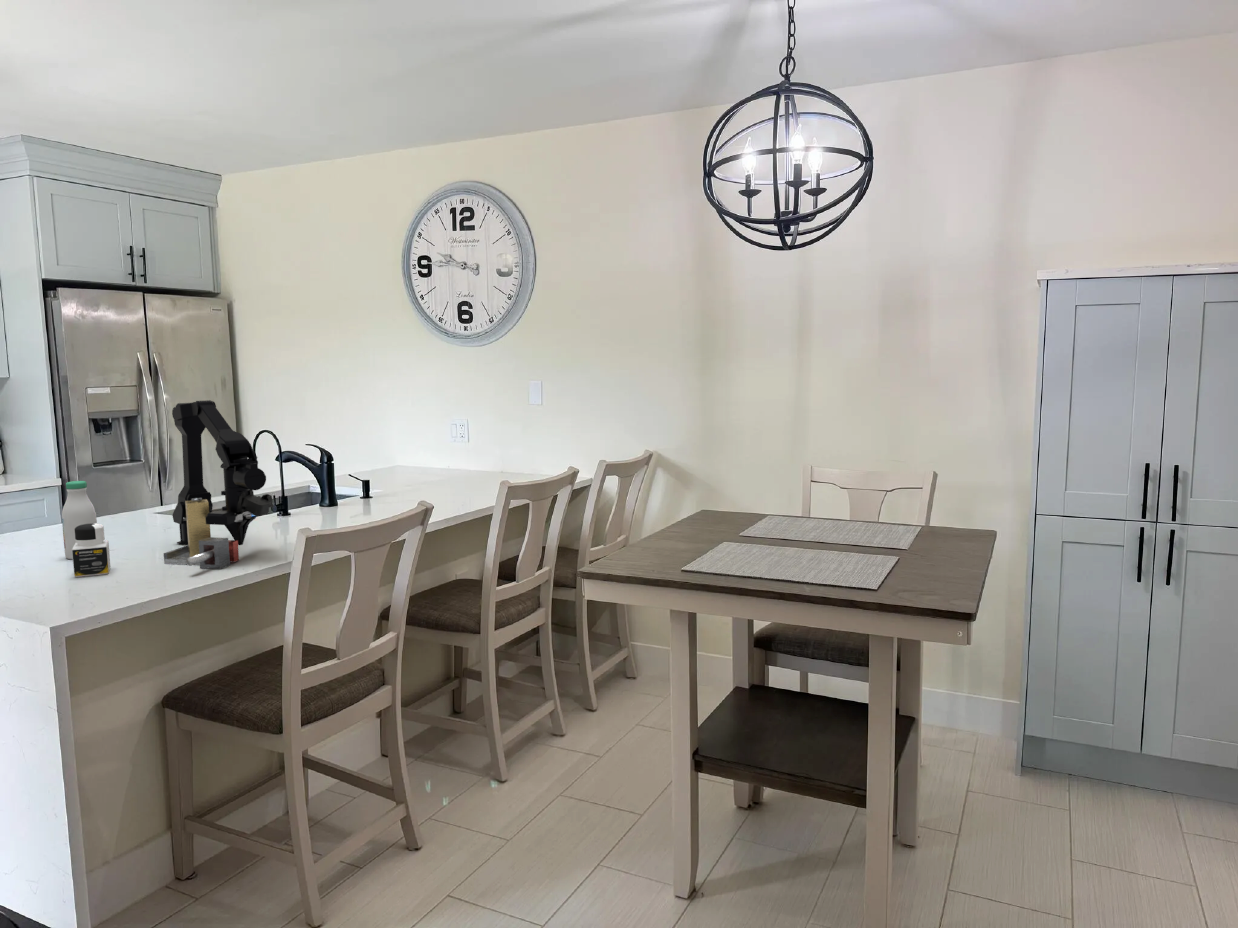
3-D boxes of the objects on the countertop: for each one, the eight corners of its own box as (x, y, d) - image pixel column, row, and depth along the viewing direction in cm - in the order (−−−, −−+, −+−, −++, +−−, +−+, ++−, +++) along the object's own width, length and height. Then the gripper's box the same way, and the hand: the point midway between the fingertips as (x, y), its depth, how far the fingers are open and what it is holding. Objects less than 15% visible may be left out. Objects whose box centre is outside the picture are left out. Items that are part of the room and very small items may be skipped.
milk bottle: (106, 554, 228) (100, 480, 225) (80, 560, 221) (73, 484, 218) (85, 552, 230) (78, 479, 228) (58, 558, 223) (51, 483, 220)
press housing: (200, 568, 213) (198, 540, 212) (210, 564, 216) (208, 537, 216) (220, 569, 212) (218, 541, 211) (230, 565, 215) (228, 538, 215)
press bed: (164, 563, 217) (163, 553, 217) (196, 552, 229) (195, 542, 229) (206, 565, 215) (205, 555, 215) (235, 554, 227) (235, 544, 226)
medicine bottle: (74, 577, 204) (69, 528, 202) (77, 571, 210) (73, 523, 209) (108, 574, 207) (104, 525, 206) (110, 567, 214) (106, 520, 212)
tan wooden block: (188, 553, 223) (185, 497, 221) (210, 551, 225) (206, 496, 223) (190, 557, 219) (186, 500, 217) (212, 555, 221) (208, 498, 219)
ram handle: (181, 574, 206) (180, 553, 205) (221, 559, 220) (220, 539, 220) (200, 575, 205) (198, 553, 204) (239, 560, 219) (237, 540, 219)
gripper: (241, 493, 211) (245, 554, 213) (285, 481, 229) (288, 538, 231) (202, 491, 213) (206, 552, 215) (248, 480, 231) (251, 536, 234)
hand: (240, 544), depth 224 cm, fingers closed
